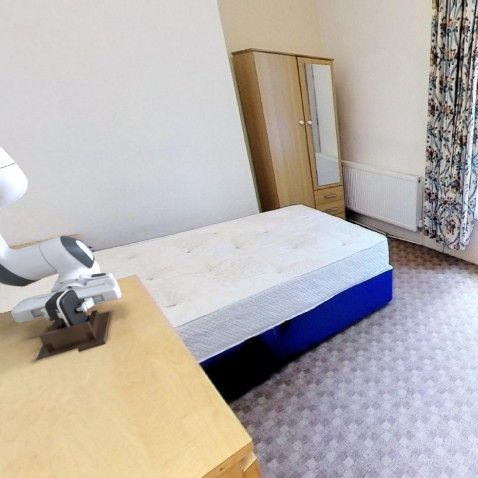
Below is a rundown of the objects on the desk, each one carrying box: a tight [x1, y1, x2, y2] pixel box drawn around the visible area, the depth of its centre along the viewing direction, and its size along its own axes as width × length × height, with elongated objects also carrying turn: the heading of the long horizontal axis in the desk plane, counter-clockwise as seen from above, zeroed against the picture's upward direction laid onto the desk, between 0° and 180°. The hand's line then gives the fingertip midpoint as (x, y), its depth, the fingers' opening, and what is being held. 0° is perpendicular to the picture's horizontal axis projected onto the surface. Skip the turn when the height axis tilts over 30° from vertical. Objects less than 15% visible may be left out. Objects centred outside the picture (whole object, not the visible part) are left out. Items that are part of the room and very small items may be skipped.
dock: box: [35, 309, 112, 361], centre depth 84 cm, size 12×15×6 cm
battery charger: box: [45, 290, 89, 327], centre depth 83 cm, size 7×4×11 cm, turn 25°
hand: (66, 314), depth 82 cm, fingers closed on battery charger, 4 cm apart
